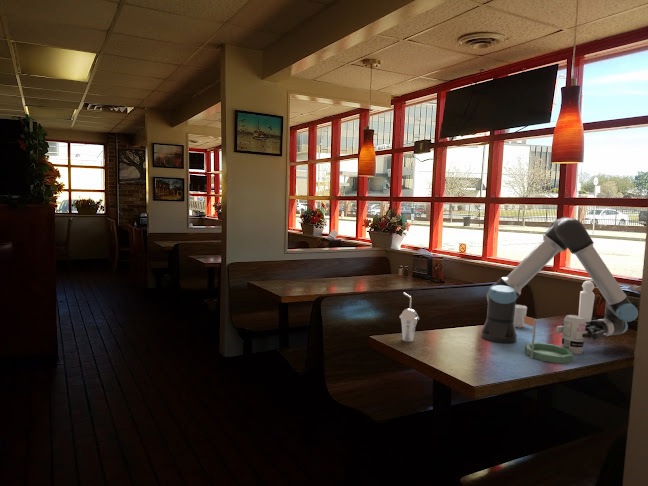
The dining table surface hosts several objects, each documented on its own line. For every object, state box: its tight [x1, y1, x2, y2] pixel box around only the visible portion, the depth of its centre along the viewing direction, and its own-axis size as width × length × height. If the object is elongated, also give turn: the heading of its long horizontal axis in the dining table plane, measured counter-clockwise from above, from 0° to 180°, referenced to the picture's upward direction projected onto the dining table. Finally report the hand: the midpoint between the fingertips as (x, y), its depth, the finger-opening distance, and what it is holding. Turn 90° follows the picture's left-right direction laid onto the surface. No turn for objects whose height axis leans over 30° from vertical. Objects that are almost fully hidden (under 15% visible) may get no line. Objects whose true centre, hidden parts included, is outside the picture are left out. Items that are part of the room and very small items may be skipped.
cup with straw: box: [399, 292, 420, 342], centre depth 203 cm, size 8×9×20 cm
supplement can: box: [560, 314, 587, 355], centre depth 198 cm, size 8×8×15 cm
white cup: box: [514, 304, 528, 328], centre depth 237 cm, size 8×8×10 cm
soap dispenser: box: [578, 280, 596, 323], centre depth 254 cm, size 6×6×22 cm
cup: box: [524, 315, 574, 364], centre depth 191 cm, size 19×17×16 cm
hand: (566, 332), depth 196 cm, fingers closed on supplement can, 8 cm apart
